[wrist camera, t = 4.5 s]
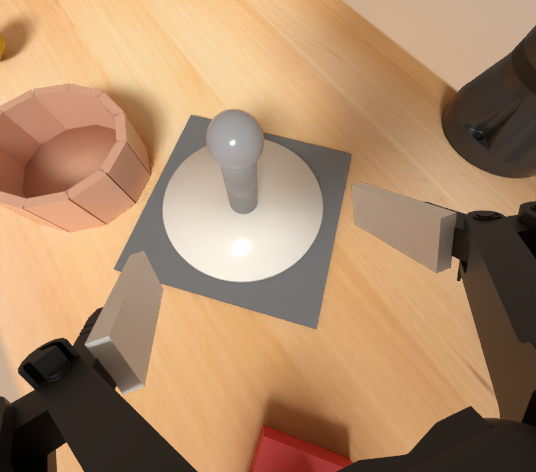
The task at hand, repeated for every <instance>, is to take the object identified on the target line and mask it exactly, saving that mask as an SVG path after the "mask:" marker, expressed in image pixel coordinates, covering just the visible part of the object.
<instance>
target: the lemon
mask: <svg viewBox="0 0 536 472" xmlns="http://www.w3.org/2000/svg"><path fill="white" fill-rule="evenodd" d="M4 50H5V43H4V39H3V37H2V35H1V33H0V60H1V59H2V54H3V53H4Z"/></svg>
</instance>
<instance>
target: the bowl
mask: <svg viewBox="0 0 536 472" xmlns="http://www.w3.org/2000/svg"><path fill="white" fill-rule="evenodd" d="M150 174H151V173H150V165H149V156H148V149H147V148H146V146H145V144H144V143H143V141H142V140H141V138H140V137H139V135H138V133H137V132H136V130H135V129H134V127H133V125H132V124H131V122H130V121H129V119H128V118H127V116H126V114H125V113H124V111H123V110H122V109H121V108H120V107H119V106H118V105H117V104H116V103H115V102H114V101H113V100H112V99H111V98H110V97H109V96H108V95H107V94H106V93H105V92H103V91H100V90H96V89H91V88H87V87H83V86H79V85H75V84H71V85H70V84H64V85H57V86H50V87H44V88H37V89H33V91H32V90H30V91H28V92H26V93H24V94H22V95H20V96H18V97H16V98H15V99H13V100H11V101H9V102H7V103H5V104H3V105H1V106H0V205H1V206H3V207H5V208H7V209H9V210H11V211H13V212H15V213H18V214H20V215H22V216H24V217H26V218H28V219H30V220H32V221H34V222H37V223H39V224H42V225H46V226H49V227H53V228H56V229H60V230H63V231H67V232H74V231H79V230H83V229H88V228H93V227H98V226H102V225H106V223H107V224H108V223H109V222H111V221H112V220H114V219H115V218H116V217H118V216H119V215H120V214H122V213H123V212H125V211H126V210H127V209H129V208H130V207H131V206H133V205H134V204H135V202H137V201H138V199H139V197H140V195H141V193H142V191H143V189H144V187H145V185H146V183H147V181H148V179H149V178H150Z"/></svg>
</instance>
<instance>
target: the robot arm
mask: <svg viewBox="0 0 536 472" xmlns="http://www.w3.org/2000/svg"><path fill="white" fill-rule="evenodd" d="M443 127H444V131H445V134H446V136H447V138H448V140H449V141H450V143H451V145H452V146H453V147H454V148H455V150H456V151H457V152H458V153H459V154H460V155H461V156H462V157H464V158H465V159H466V160H467V161H469V162H470V163H472V164H473V165H475V166H476V167H478V168H480V169H482V170H484V171H486V172H489V173H492V174H495V175H498V176H502V177H508V178H526V177H531V176H534V175H536V26H535V27H534V28H533V29H532V30H531V31H530V32H529V33H528V34H527V36H526V37H525V38H524V39H523V40H522V41H521V42H520V43H519V44H518V45H517V47H516V48H515V49H514V50H513V51H512V52H511V53H510V54H508V55H507V56H506V57H504V58H503V59H501V60H500V61H499V62H497V63H496V64H494V65H493V66H492V67H490V68H489V69H487V70H486V71H485V72H483V73H482V74H481V75H479V76H478V77H476V78H475V79H474V80H472V81H471V82H469V83H467V84H466V85H465V86H463V87H462V88H461V90H459V91H458V92H457V94H456V95H455V96H454V97H453V98H452V100H451V101H450V102H449V103H448V105H447V106H446V108H445V110H444V113H443ZM351 188H352V201H353V213H354V224H355V225H357V226H358V227H360V228H362V229H363V230H365V231H367V232H369V233H370V234H372V235H374V236H375V237H377V238H379V239H380V240H382V241H384V242H385V243H387V244H389V245H390V246H392V247H394V248H395V249H397V250H399V251H400V252H402V253H404V254H405V255H407V256H409V257H410V258H412V259H414V260H415V261H417V262H419V263H420V264H422V265H424V266H425V267H427V268H429V269H430V270H432V271H434V272H435V273H438V272H441V271H443V270H446V269H448V268H451V260H452V256H453V257H456V258H458V259H460V261H459V269H458V277H457V281H460V279H461V278H462V280H463V284H464V287H465V291H466V294H467V298H468V301H469V305H470V308H471V312H472V315H473V318H474V322H475V325H476V329H477V332H478V336H479V339H480V343H481V346H482V350H483V353H484V357H485V360H486V364H487V367H488V371H489V374H490V378H491V381H492V385H493V388H494V392H495V395H496V399H497V402H498V406H499V411H500V419H498V418H482V417H481V416H480V415H479V414H478V413H477V412H476V411H475V410H474V409H473V408H472V407H471V406H470V407H468V408H465V409H463V410H461V411H459V412H457V413H455V414H453V415H451V416H449V417H447V418H445V419H443V420H441V421H439V422H437V423H436V424H435V425H434V426H433V427H432V428H431V429H430V430H429V431H428V432H427V434H426V435H425V436H424V437H423V438H422V439H421V440H420V441H419V443H418V444H417V445H416V446H415V447H414V448H413V449H412V450H411V451H410V452H409V453H408V454H406V455H401V456H392V457H383V458H375V459H366V460H359V461H357V462H355V463H353V464H351V465H348V466H346V467H344V468H342V469H340V470H338V471H336V472H536V202H527V203H523V204H521V205H520V208H519V213H518V215H514V216H508V217H505V216H504V215H503V214H500V213H497V212H493V211H473V212H469V213H467V214H464V213H460V212H457V211H454V210H451V209H448V208H443V207H441V206H438V205H437V206H436V205H435V204H432V203H429V202H423V201H419V200H416V199H413V198H410V197H407V196H403V195H400V194H397V193H394V192H391V191H388V190H385V189H382V188H378V187H375V186H372V185H369V184H366V183H363V182H361V183H358V184H355V185H351ZM162 293H163V287H162V285H161V283H160V281H159V279H158V277H157V275H156V273H155V272H154V270H153V268H152V266H151V264H150V262H149V260H148V258H147V256H146V254H145V252H144V251H141V252H138V253H135V254H132V255H130V256H129V258H128V260H127V262H126V264H125V266H124V268H123V270H122V272H121V274H120V276H119V278H118V280H117V282H116V284H115V286H114V288H113V290H112V291H111V293H110V295H109V297H108V299H107V301H106V303H105V305H104V307H102V308H99V309H97V310H96V311H95V312H94V313H93V314H92V315H91V316H90V317H89V318H88V320H87V322H86V323H85V325H84V328H83V329H82V331H81V332H80V334H79V335H80V336H78V338H77V340H76V341H75V343H74V345H73V346H72V345H71V344H70V343H69V341H68V340H67V339H64V338H59V339H55V340H52V341H50V342H47V343H46V344H44V345H42V346H41V347H39V348H37V349H36V350H35V351H33V352H32V353H31V354H29V355H28V356H27V357H26V359H25V360H24V361H23V362H22V363H21V365H20V366H19V368H18V373H19V374H20V375H21V376H22V377H23V378H24V379H25V380H26V381H27V382H28V383H29V384H30V385H31V386H32V387H33V388H34V389H35V390H34V391H32V392H30V393H28V394H27V395H25V396H23V397H21V398H20V399H18V400H16V401H15V402H13V403H10V402H9V401H8V400H6V399H5V398H4V397H0V472H57V464H56V449H57V448H59V447H60V446H62V445H63V444H64V443H66V442H67V444H68V445H69V447H70V449H71V450H72V452H73V454H74V455H75V457H76V459H77V460H78V462H79V464H80V465H81V467H82V469H83V470H84V472H197V471H196V470H195V469H194V468H193V467H192V466H191V465H190V464H189V463H188V462H187V461H186V460H185V459H184V458H183V457H182V456H181V455H180V454H179V453H178V452H177V451H176V450H175V449H174V448H173V447H172V446H171V445H170V444H169V443H168V442H167V441H166V440H165V439H164V438H163V437H162V436H161V435H160V434H159V433H158V432H157V431H156V430H155V429H154V428H153V427H152V426H151V425H150V424H149V423H148V422H147V421H146V420H145V419H144V418H143V417H142V416H141V415H140V414H139V413H138V412H137V411H136V410H135V409H134V408H133V407H132V406H131V405H130V404H129V403H128V402H127V401H125V400H124V399H123V398H122V397H121V396H120V395H119V394H118V393H117V392H116V391H115V388H116V386H117V387H118V388H119V389H120V391H121V392H122V393H123V395H125V394H127V393H130V392H132V391H135V390H138V389H140V388H143V387H144V386H145V381H146V375H147V370H148V365H149V360H150V355H151V350H152V345H153V340H154V334H155V329H156V324H157V319H158V314H159V309H160V304H161V298H162Z"/></svg>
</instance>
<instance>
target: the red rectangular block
mask: <svg viewBox="0 0 536 472" xmlns="http://www.w3.org/2000/svg"><path fill="white" fill-rule="evenodd" d="M351 464H353V463H352V461H351V460H350V459H349V458H347V457H344V456H342V455H339V454H337V453H334V452H332V451H329V450H326V449H324V448H321V447H319V446H316V445H314V444H311V443H309V442H306V441H303V440H301V439H298V438H296V437H293V436H291V435H288V434H286V433H283V432H280V431H278V430H275V429H273V428H270V427H268V426H265V425H263V428H262V432H261V435H260V439H259V442H258V446H257V449H256V453H255V456H254V460H253V463H252V467H251V470H250V472H336V471H338V470H340V469H342V468H344V467H346V466H348V465H351Z"/></svg>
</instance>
